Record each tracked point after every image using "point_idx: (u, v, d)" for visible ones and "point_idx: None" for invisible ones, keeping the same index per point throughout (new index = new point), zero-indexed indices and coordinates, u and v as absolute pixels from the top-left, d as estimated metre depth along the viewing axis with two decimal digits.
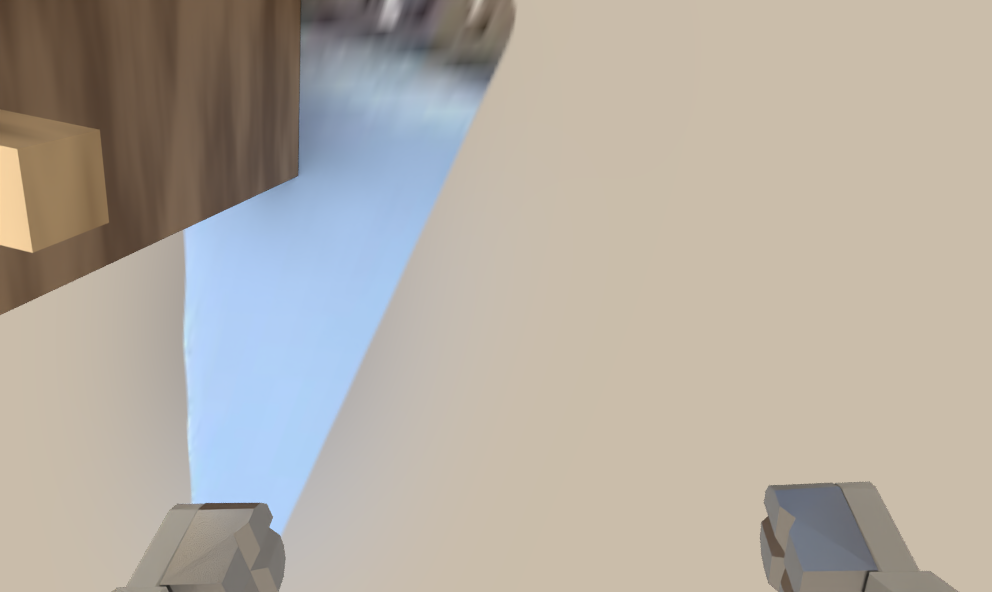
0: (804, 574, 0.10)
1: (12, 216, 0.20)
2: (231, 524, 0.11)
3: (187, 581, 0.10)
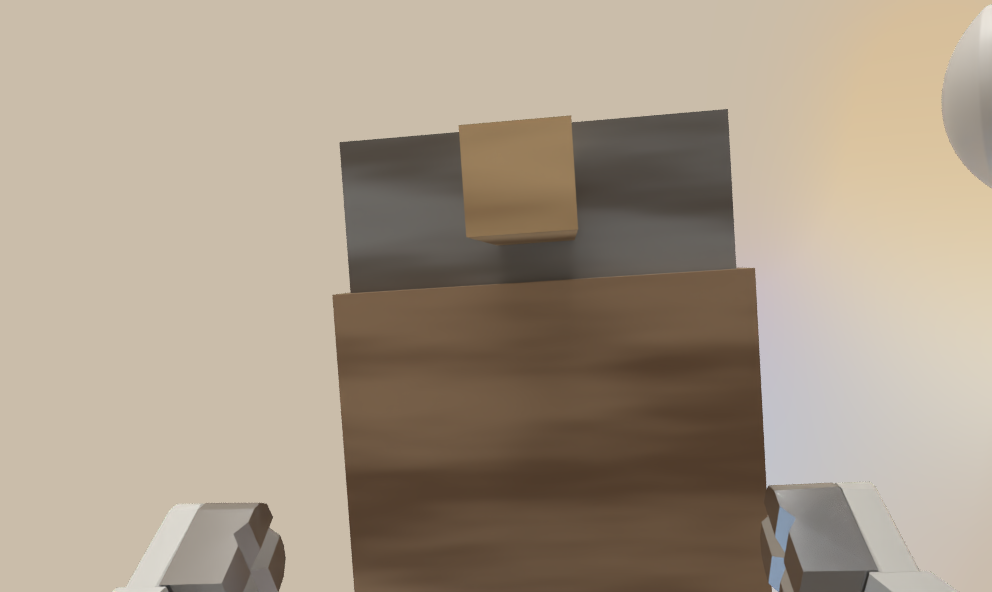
0: (804, 574, 0.10)
1: None
2: (231, 524, 0.11)
3: (187, 581, 0.10)
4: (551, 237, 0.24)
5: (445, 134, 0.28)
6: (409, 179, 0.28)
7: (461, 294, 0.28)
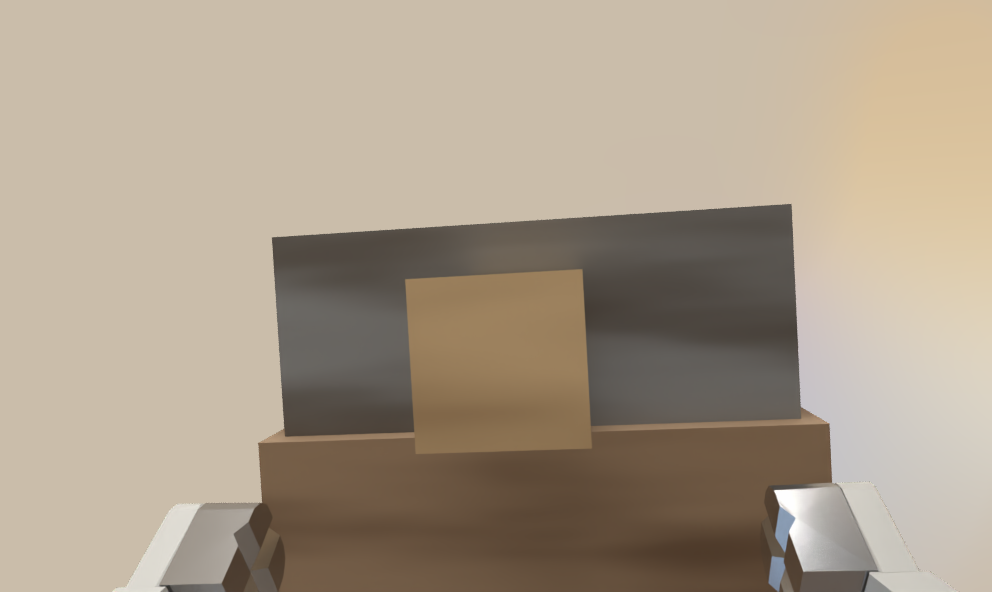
0: (804, 574, 0.10)
1: None
2: (231, 524, 0.11)
3: (187, 581, 0.10)
4: None
5: (411, 230, 0.21)
6: (363, 288, 0.21)
7: None
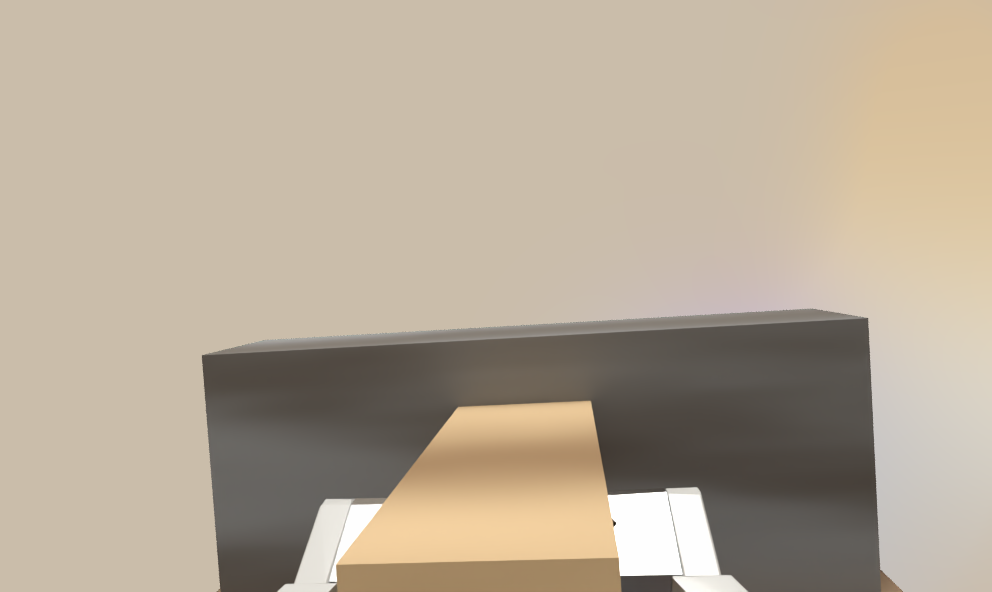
0: None
1: (435, 543, 0.08)
2: None
3: None
4: None
5: (378, 347, 0.17)
6: (318, 420, 0.17)
7: None
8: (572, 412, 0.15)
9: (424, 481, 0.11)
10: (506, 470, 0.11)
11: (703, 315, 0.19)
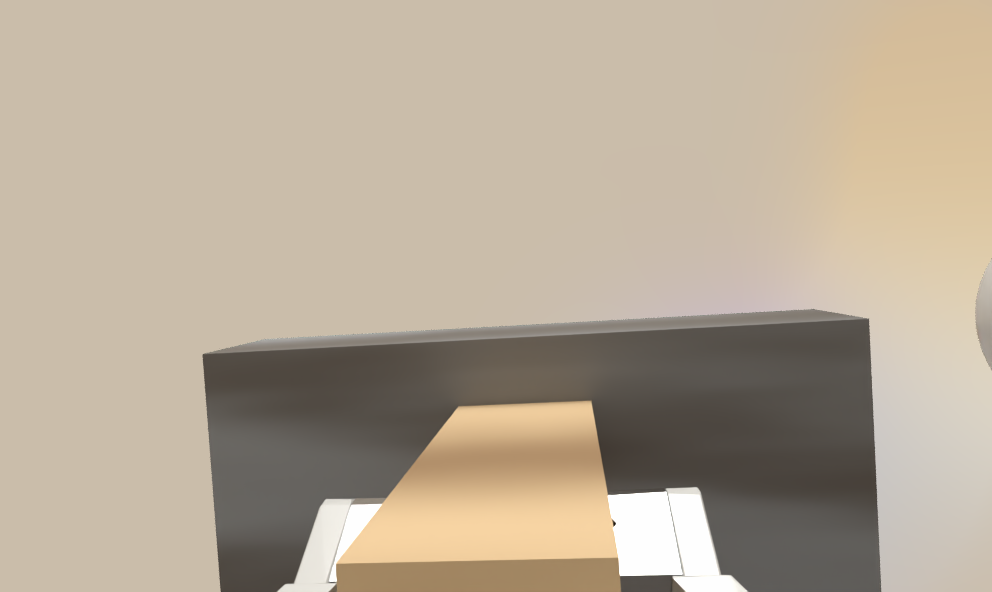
0: None
1: (434, 543, 0.08)
2: None
3: None
4: None
5: (379, 347, 0.17)
6: (319, 419, 0.17)
7: None
8: (572, 412, 0.15)
9: (424, 481, 0.11)
10: (507, 470, 0.11)
11: (704, 315, 0.19)
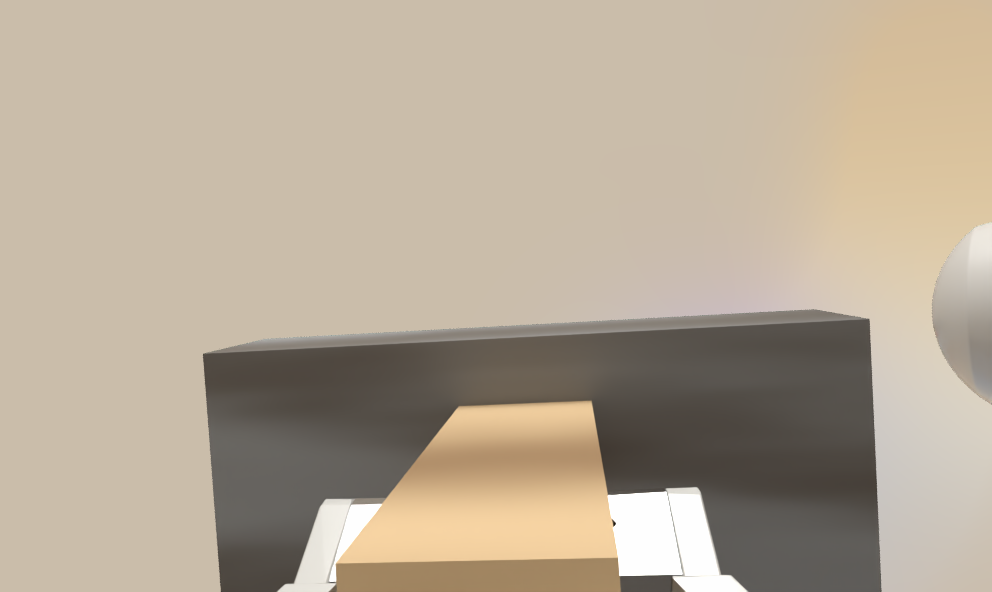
0: None
1: (434, 543, 0.08)
2: None
3: None
4: None
5: (379, 346, 0.17)
6: (319, 419, 0.17)
7: None
8: (573, 412, 0.15)
9: (424, 480, 0.11)
10: (507, 470, 0.11)
11: (704, 315, 0.19)
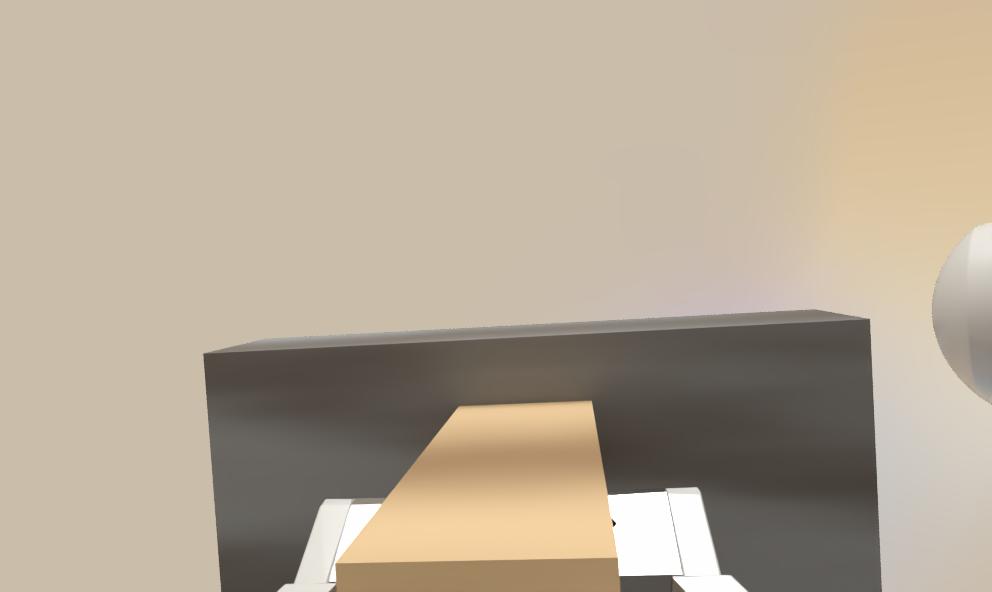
0: None
1: (434, 543, 0.08)
2: None
3: None
4: None
5: (379, 346, 0.17)
6: (319, 419, 0.17)
7: None
8: (573, 412, 0.15)
9: (424, 480, 0.11)
10: (507, 470, 0.11)
11: (704, 315, 0.19)
